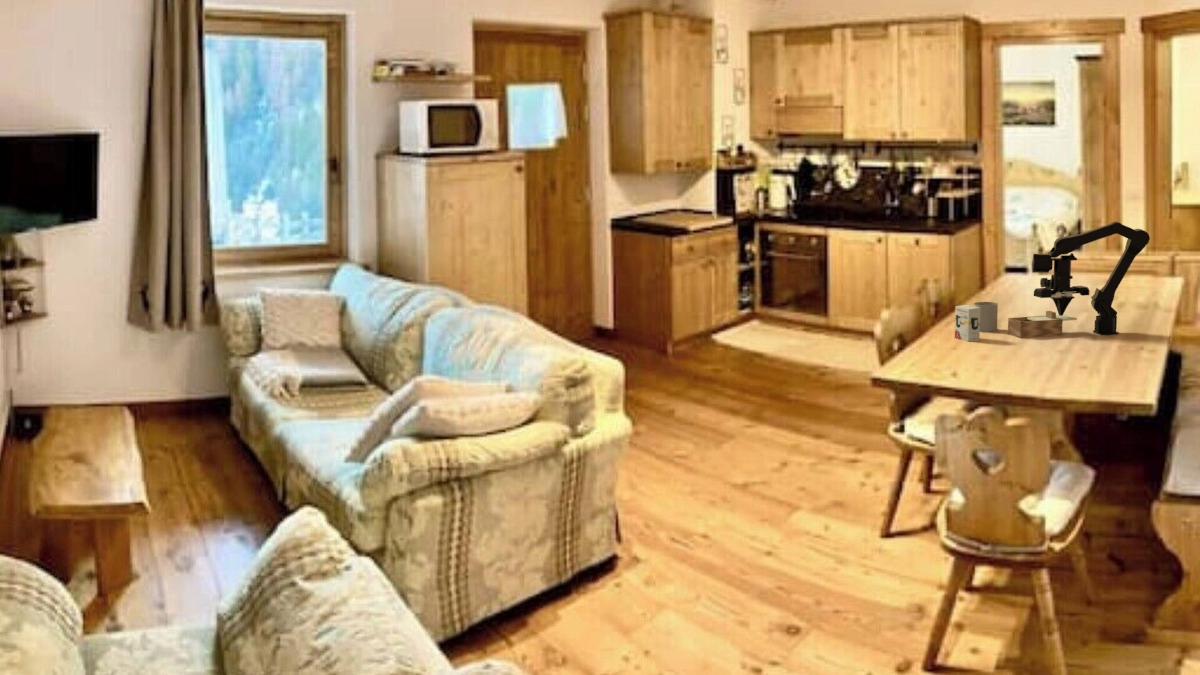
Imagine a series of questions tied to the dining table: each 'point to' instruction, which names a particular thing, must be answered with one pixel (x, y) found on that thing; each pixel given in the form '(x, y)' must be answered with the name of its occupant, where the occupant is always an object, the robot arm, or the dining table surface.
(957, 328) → the ink box
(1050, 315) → the lid
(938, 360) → the dining table surface
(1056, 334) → the box
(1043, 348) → the dining table surface
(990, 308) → the cup
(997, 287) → the dining table surface
